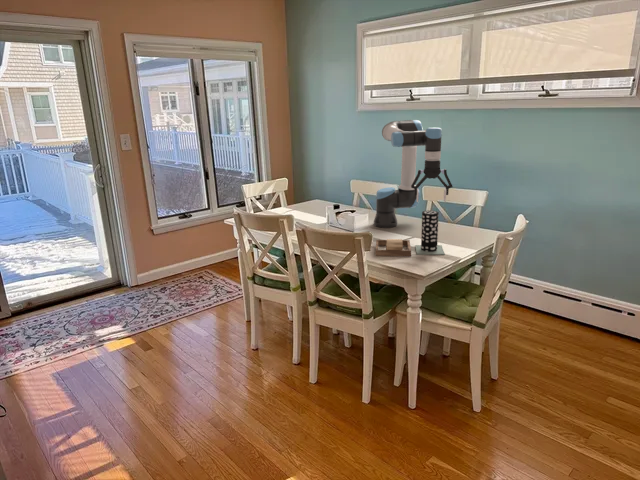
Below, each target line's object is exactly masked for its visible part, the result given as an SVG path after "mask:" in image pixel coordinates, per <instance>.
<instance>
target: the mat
mask: <svg viewBox="0 0 640 480" xmlns="http://www.w3.org/2000/svg"><path fill="white" fill-rule="evenodd" d="M414 247H415V253H416V255H417V256H418V255H419V256H423V255H424V256H439V255H440V256H445V255H446V253H445V251H444V249H443V246H442V245H441V244H440V245H439V244H437V250H436V251H433V252H427V251H423V250H421V244H415V245H414Z"/></svg>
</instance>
